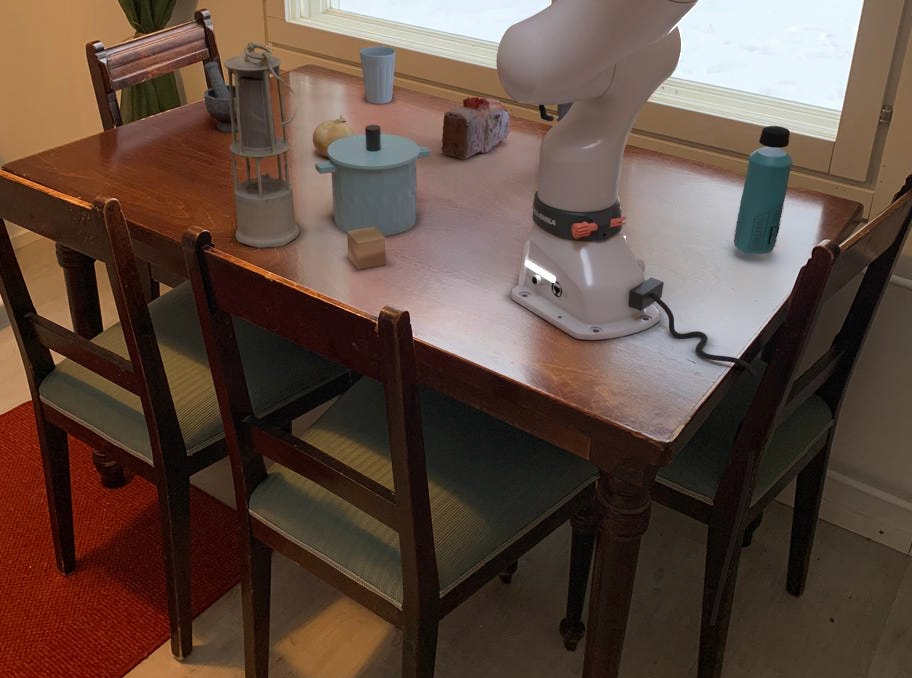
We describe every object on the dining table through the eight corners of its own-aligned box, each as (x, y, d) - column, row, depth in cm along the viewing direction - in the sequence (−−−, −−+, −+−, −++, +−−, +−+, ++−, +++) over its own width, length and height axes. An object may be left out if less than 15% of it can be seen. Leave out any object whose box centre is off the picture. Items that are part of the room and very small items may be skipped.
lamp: (273, 215, 168) (257, 29, 151) (323, 239, 161) (311, 47, 144) (222, 233, 162) (198, 42, 145) (271, 259, 155) (252, 61, 138)
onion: (339, 165, 187) (337, 127, 183) (305, 156, 191) (302, 119, 187) (363, 152, 193) (362, 115, 189) (330, 144, 196) (328, 108, 192)
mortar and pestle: (265, 126, 204) (259, 66, 197) (227, 137, 199) (220, 76, 192) (232, 113, 211) (225, 55, 204) (194, 124, 205) (186, 64, 198)
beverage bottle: (766, 267, 153) (794, 139, 142) (724, 257, 156) (747, 131, 145) (778, 251, 158) (806, 126, 147) (737, 241, 161) (761, 118, 149)
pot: (444, 225, 165) (445, 158, 159) (335, 245, 159) (331, 176, 152) (411, 195, 176) (411, 131, 169) (308, 213, 169) (303, 147, 162)
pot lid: (434, 164, 158) (434, 135, 155) (346, 179, 153) (345, 149, 150) (398, 135, 169) (397, 107, 166) (315, 147, 164) (313, 119, 161)
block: (386, 264, 154) (385, 237, 151) (358, 270, 152) (357, 242, 149) (375, 252, 157) (374, 226, 154) (348, 258, 155) (346, 231, 153)
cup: (369, 107, 214) (368, 57, 208) (355, 97, 220) (354, 48, 214) (402, 103, 217) (401, 53, 211) (387, 93, 223) (386, 44, 217)
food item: (479, 134, 201) (481, 85, 195) (512, 143, 197) (514, 93, 191) (437, 153, 192) (437, 102, 187) (470, 163, 188) (472, 111, 183)
